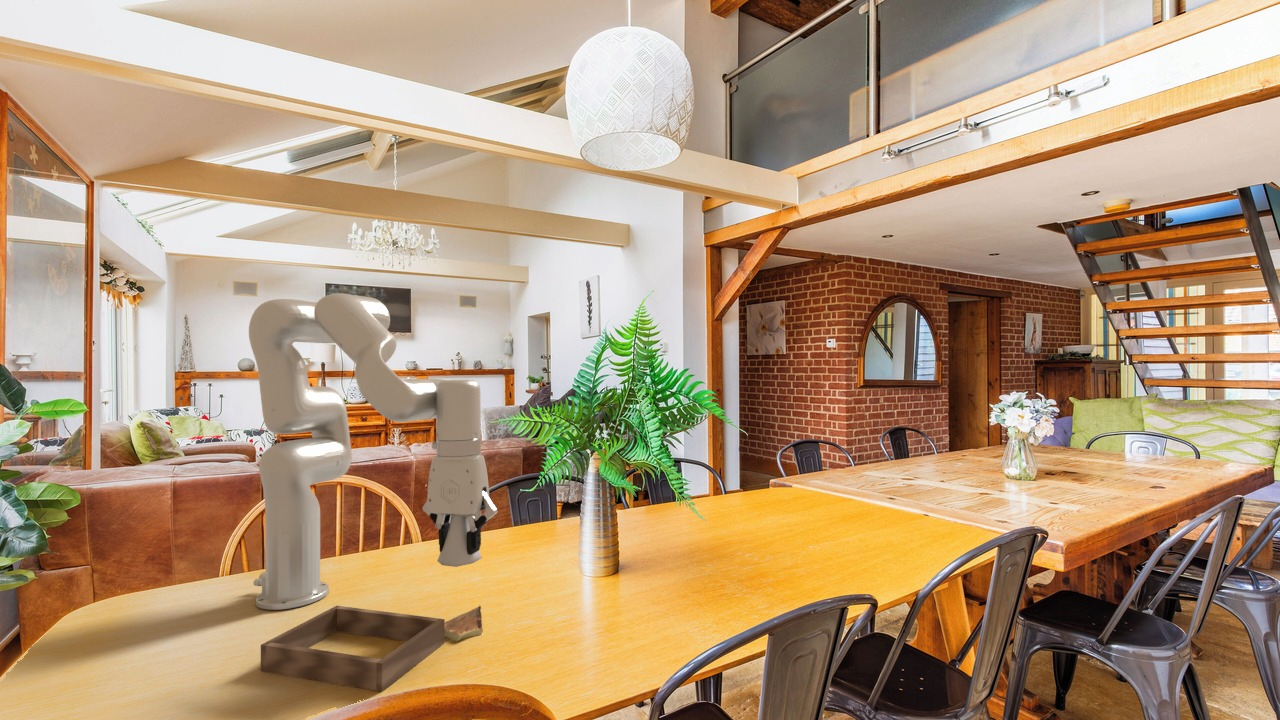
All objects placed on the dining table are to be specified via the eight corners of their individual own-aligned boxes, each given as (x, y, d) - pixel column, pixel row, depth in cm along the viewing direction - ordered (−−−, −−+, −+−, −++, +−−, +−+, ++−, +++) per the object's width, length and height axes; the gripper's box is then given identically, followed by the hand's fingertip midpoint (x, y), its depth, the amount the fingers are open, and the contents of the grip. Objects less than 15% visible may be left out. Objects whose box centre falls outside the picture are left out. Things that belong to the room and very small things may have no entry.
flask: (454, 571, 98) (454, 511, 98) (429, 562, 102) (429, 506, 102) (489, 559, 104) (488, 503, 104) (464, 552, 108) (464, 498, 108)
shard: (480, 613, 110) (480, 603, 110) (509, 622, 106) (509, 612, 106) (432, 636, 101) (432, 625, 101) (463, 647, 97) (463, 636, 97)
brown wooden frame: (260, 671, 88) (260, 644, 88) (336, 628, 103) (336, 605, 103) (382, 691, 82) (382, 663, 83) (444, 643, 97) (444, 619, 97)
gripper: (404, 450, 102) (405, 554, 102) (490, 453, 97) (491, 561, 97) (430, 444, 109) (431, 541, 109) (512, 447, 105) (513, 548, 104)
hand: (459, 549), depth 103 cm, fingers closed on flask, 4 cm apart
